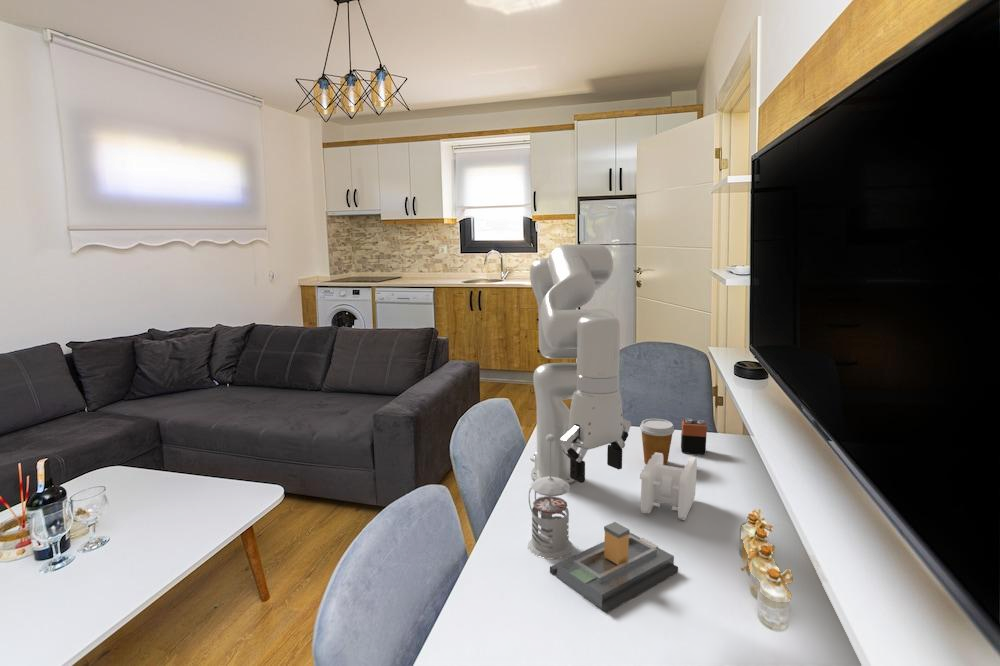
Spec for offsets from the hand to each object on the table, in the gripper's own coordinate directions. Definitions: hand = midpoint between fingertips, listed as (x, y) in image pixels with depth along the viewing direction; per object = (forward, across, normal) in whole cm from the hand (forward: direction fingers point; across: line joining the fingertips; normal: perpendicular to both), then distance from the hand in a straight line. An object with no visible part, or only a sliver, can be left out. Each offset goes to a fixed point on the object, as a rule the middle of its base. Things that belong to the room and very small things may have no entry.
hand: (596, 473), depth 106 cm
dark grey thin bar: (+22, -5, +7) cm, 24 cm away
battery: (+21, -70, -28) cm, 79 cm away
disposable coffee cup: (+21, -54, -29) cm, 65 cm away
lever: (+19, -5, 0) cm, 19 cm away
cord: (+22, -5, -7) cm, 24 cm away
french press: (+22, -2, -16) cm, 27 cm away
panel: (+22, -5, 0) cm, 23 cm away
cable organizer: (+22, -35, -10) cm, 43 cm away
